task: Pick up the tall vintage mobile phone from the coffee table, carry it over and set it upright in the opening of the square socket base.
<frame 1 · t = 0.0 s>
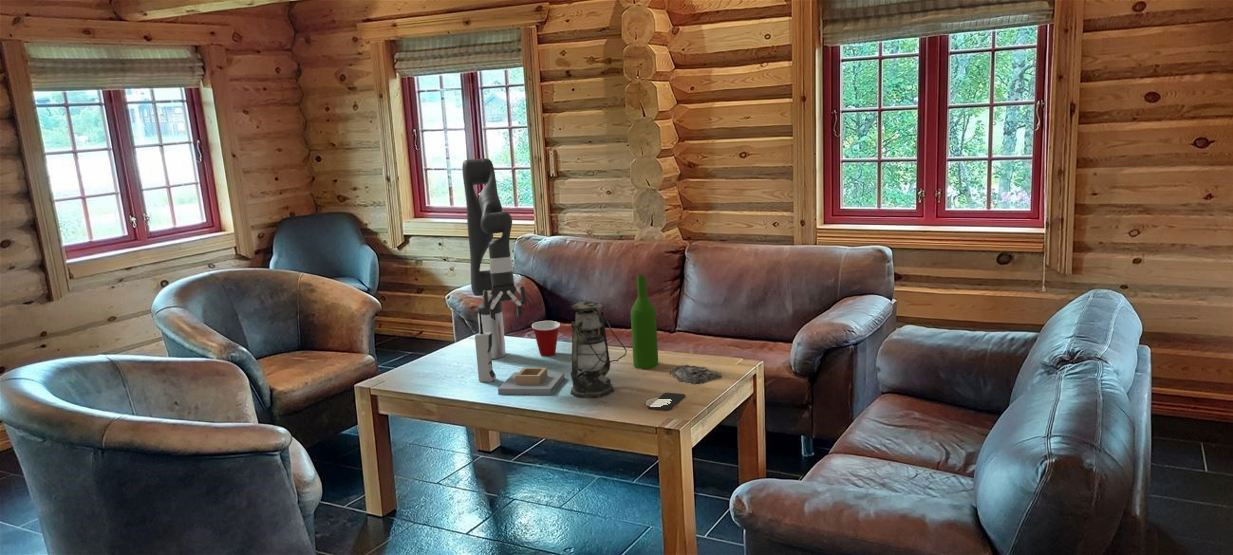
hand: (506, 318, 302), 22 cm above the table, tool pointing down, fingers open, 8 cm apart
square socket base: (532, 385, 300), on the table
geode: (692, 378, 300), on the table
vintage mobile phone: (487, 380, 310), on the table
lantern: (597, 392, 290), on the table
wine bottle: (646, 366, 316), on the table
phone: (667, 403, 276), on the table
plastic cup: (548, 355, 338), on the table
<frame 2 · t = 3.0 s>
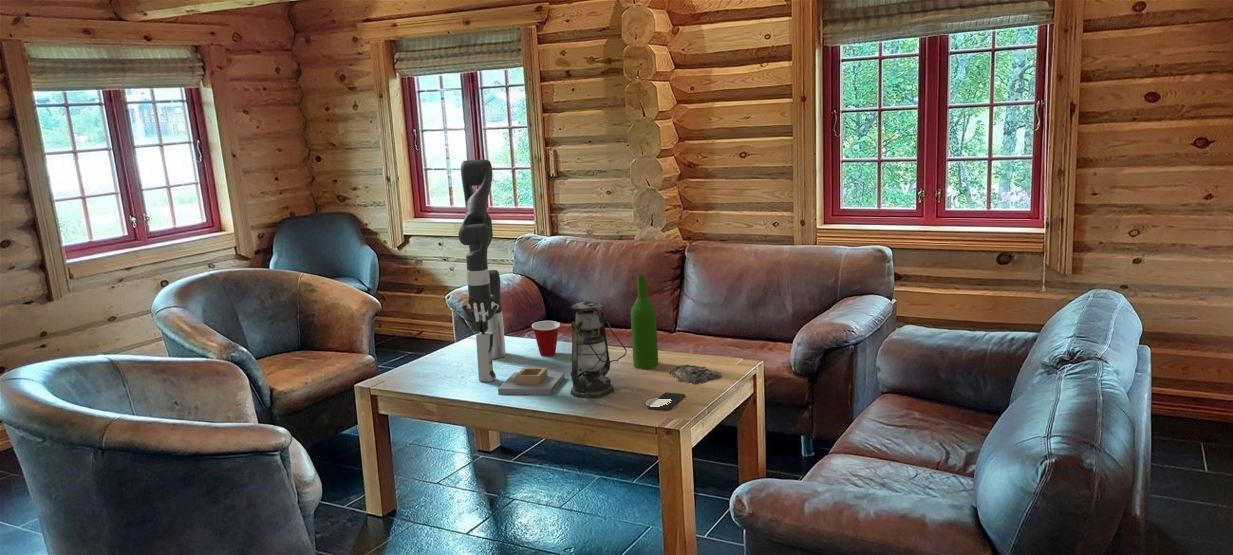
hand: (482, 331, 306), 18 cm above the table, tool pointing down, fingers closed on vintage mobile phone
vintage mobile phone: (487, 380, 310), on the table, touching gripper
everything else where it was.
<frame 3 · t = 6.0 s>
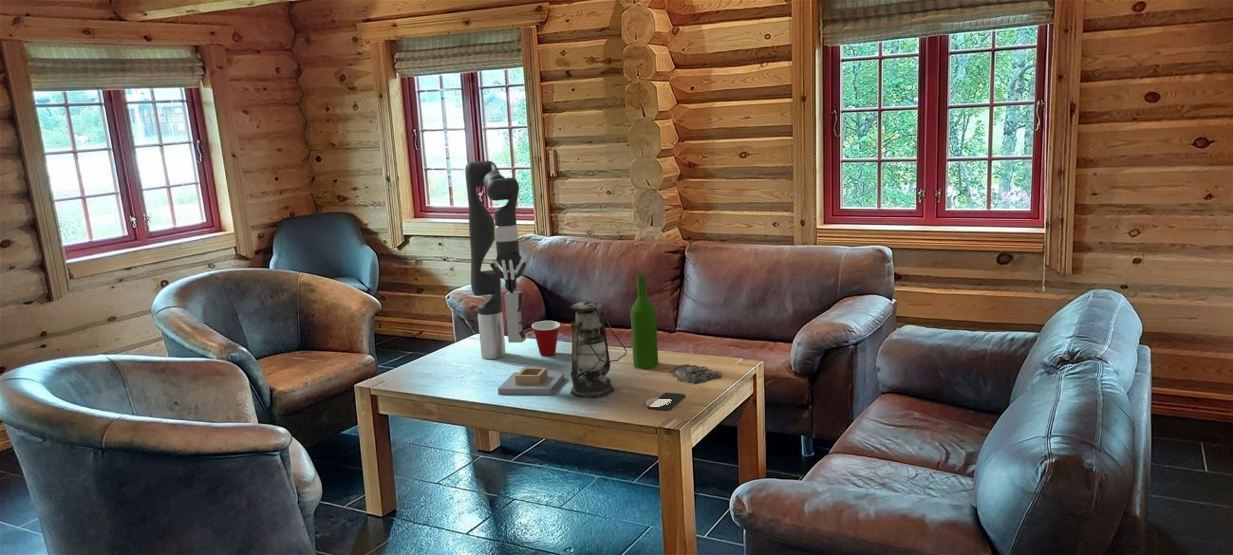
hand: (511, 290, 296), 33 cm above the table, tool pointing down, fingers closed on vintage mobile phone
vintage mobile phone: (517, 341, 299), point 15 cm above the table, touching gripper
everything else where it was.
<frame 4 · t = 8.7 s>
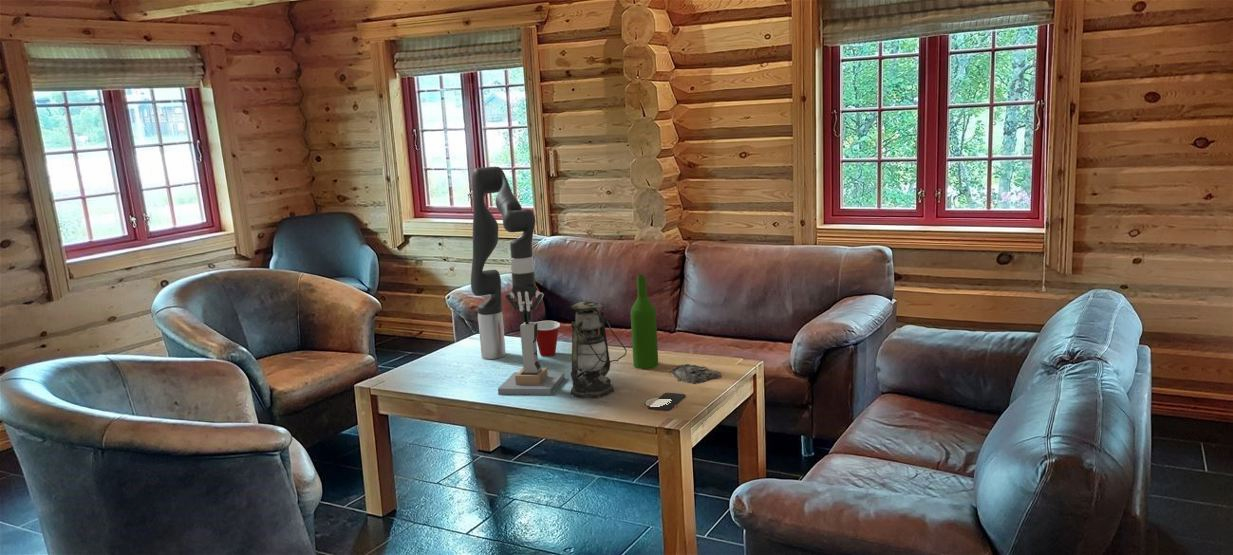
hand: (526, 321, 296), 22 cm above the table, tool pointing down, fingers closed on vintage mobile phone
vintage mobile phone: (532, 372, 299), point 5 cm above the table, touching gripper, square socket base
everything else where it was.
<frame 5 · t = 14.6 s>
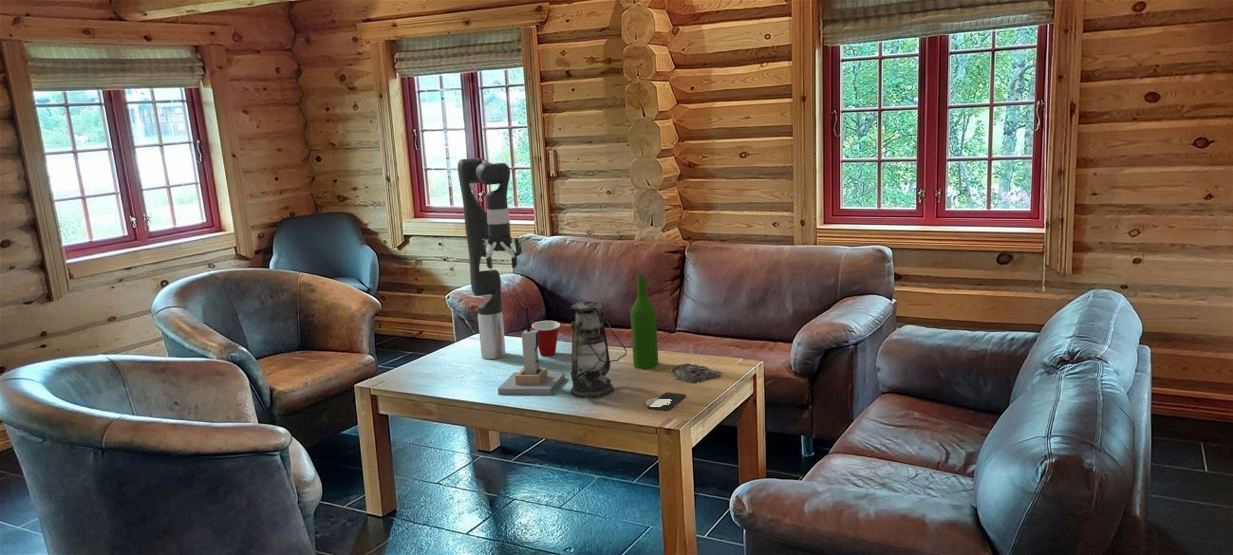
hand: (502, 268, 309), 38 cm above the table, tool pointing down, fingers open, 8 cm apart
vintage mobile phone: (534, 379, 301), point 2 cm above the table, touching square socket base
at the end: vintage mobile phone 1.1 cm off-centre on the square socket base, point 1.8 cm above the square socket base's base; vintage mobile phone tilted 0°; the gripper is holding nothing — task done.
